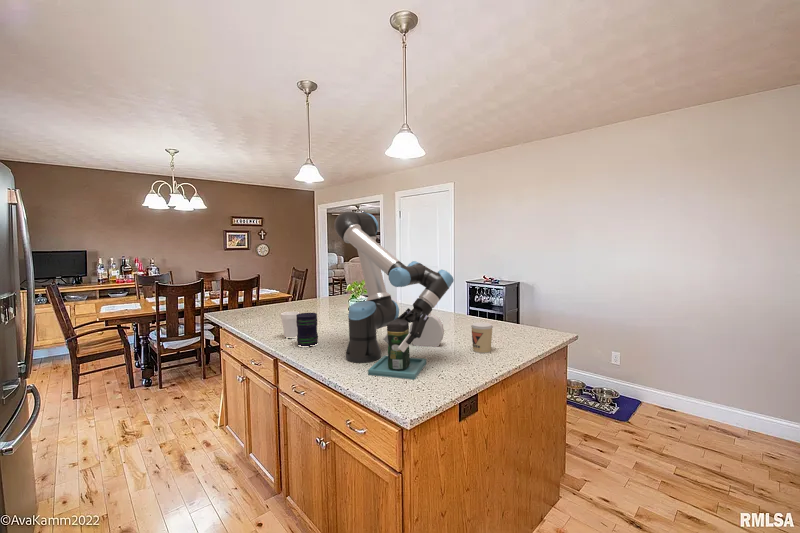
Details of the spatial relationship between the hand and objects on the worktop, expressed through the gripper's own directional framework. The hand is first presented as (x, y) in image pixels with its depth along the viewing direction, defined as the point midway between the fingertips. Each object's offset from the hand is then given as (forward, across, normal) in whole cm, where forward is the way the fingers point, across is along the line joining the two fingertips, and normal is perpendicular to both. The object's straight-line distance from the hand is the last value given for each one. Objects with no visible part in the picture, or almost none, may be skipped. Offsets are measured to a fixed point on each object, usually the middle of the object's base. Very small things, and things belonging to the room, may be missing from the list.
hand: (392, 345), depth 143 cm
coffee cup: (-25, +2, -39) cm, 47 cm away
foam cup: (+24, +71, +10) cm, 75 cm away
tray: (+5, 0, -8) cm, 10 cm away
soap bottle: (-14, +23, -28) cm, 38 cm away
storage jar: (+21, +52, +7) cm, 57 cm away
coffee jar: (+5, 0, -8) cm, 9 cm away
